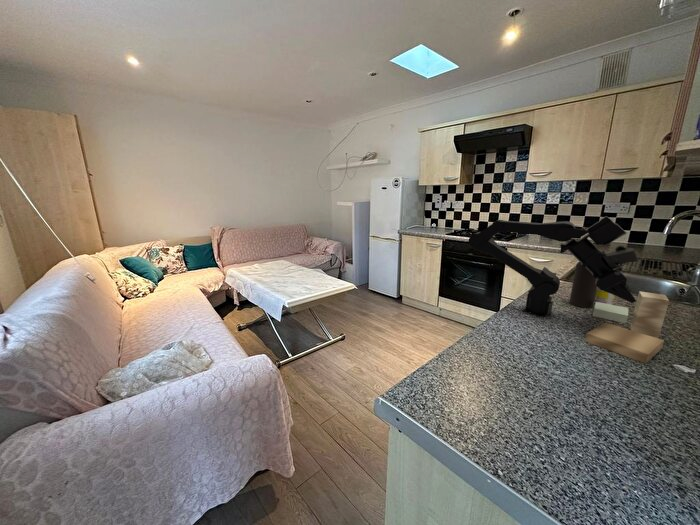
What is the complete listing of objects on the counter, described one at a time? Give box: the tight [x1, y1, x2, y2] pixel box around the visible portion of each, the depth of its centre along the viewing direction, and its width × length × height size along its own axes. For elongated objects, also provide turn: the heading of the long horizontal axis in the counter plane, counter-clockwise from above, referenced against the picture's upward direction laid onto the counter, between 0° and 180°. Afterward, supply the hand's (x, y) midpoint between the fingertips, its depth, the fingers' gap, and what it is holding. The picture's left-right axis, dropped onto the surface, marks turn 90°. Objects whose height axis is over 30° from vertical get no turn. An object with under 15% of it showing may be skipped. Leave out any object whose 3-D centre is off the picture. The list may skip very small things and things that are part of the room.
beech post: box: [629, 291, 670, 339], centre depth 77 cm, size 5×5×12 cm
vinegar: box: [569, 261, 597, 309], centre depth 98 cm, size 7×7×20 cm
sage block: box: [592, 302, 629, 324], centre depth 91 cm, size 8×8×3 cm
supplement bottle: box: [594, 287, 616, 305], centre depth 100 cm, size 7×7×13 cm
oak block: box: [584, 322, 665, 364], centre depth 74 cm, size 12×12×3 cm
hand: (631, 296), depth 79 cm, fingers open, 9 cm apart
